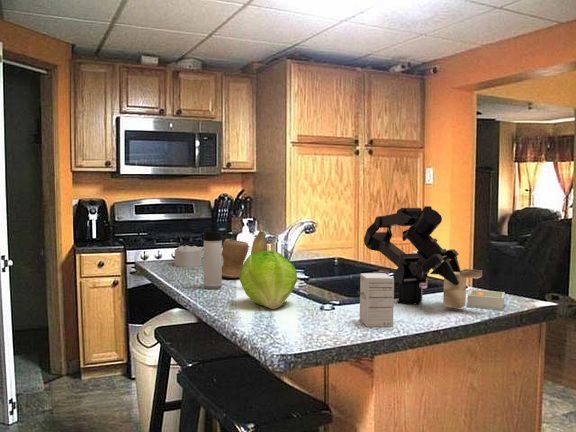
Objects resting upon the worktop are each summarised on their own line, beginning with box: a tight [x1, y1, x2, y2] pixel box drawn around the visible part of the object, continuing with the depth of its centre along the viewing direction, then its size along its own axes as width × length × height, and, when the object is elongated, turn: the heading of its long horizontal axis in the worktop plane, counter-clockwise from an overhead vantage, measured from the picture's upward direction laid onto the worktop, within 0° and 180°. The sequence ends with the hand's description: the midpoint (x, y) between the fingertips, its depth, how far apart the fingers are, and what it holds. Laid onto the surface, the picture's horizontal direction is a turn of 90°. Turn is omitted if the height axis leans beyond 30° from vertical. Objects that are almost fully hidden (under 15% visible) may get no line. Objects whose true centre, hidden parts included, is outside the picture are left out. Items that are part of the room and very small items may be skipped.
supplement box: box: [359, 272, 395, 328], centre depth 137 cm, size 7×7×13 cm
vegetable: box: [250, 231, 268, 255], centre depth 183 cm, size 6×6×20 cm
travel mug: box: [203, 231, 223, 290], centre depth 184 cm, size 6×7×20 cm
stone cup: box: [222, 238, 249, 279], centre depth 207 cm, size 15×12×15 cm
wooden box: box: [442, 268, 483, 309], centre depth 152 cm, size 9×5×11 cm, turn 56°
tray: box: [466, 289, 506, 311], centre depth 160 cm, size 10×10×4 cm
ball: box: [475, 292, 485, 296], centre depth 161 cm, size 3×3×3 cm
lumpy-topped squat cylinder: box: [174, 244, 202, 268], centre depth 239 cm, size 10×13×9 cm
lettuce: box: [239, 250, 298, 310], centre depth 158 cm, size 17×20×16 cm
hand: (460, 283), depth 152 cm, fingers closed on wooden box, 5 cm apart
